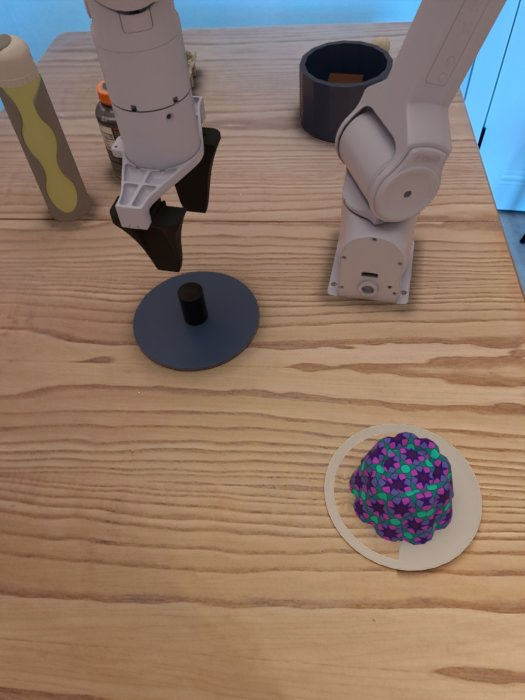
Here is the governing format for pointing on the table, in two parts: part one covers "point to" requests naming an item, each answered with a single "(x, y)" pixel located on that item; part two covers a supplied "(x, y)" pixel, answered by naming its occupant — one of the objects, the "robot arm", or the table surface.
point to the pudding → (410, 496)
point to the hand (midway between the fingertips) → (183, 237)
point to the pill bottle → (108, 126)
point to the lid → (196, 321)
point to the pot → (335, 98)
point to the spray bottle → (40, 132)
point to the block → (345, 78)
